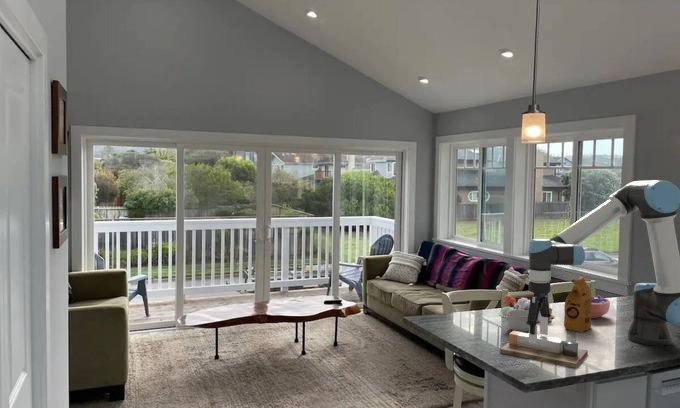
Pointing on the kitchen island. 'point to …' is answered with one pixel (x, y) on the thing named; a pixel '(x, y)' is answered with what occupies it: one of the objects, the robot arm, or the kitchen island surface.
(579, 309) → the coffee package
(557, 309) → the kitchen island surface
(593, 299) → the cell model
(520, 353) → the board
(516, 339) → the tongs arm
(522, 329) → the teacup
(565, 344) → the tongs fixed
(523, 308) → the candy landscape model
